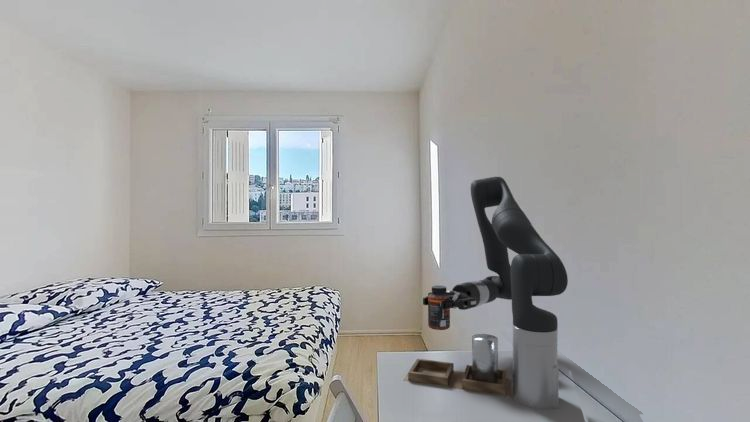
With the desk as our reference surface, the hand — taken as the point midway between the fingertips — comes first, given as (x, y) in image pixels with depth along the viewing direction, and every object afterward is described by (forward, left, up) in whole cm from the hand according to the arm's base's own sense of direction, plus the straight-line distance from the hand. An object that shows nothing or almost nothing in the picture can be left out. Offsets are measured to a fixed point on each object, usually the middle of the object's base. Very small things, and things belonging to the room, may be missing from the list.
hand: (432, 303), depth 107 cm
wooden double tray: (-8, +7, -18) cm, 21 cm away
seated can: (-14, +7, -16) cm, 23 cm away
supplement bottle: (-1, -2, -7) cm, 8 cm away
